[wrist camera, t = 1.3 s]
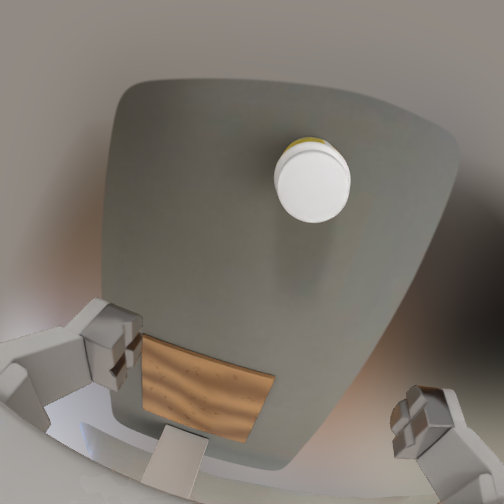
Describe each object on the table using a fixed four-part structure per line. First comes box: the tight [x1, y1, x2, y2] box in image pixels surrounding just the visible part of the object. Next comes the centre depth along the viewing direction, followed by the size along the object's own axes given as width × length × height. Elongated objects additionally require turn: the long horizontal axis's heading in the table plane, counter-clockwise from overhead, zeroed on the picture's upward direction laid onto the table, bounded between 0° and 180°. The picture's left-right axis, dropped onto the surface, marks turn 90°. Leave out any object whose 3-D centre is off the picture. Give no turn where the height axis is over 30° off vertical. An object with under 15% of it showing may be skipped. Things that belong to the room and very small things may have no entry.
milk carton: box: [140, 424, 209, 499], centre depth 35 cm, size 7×7×19 cm
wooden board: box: [142, 334, 275, 443], centre depth 37 cm, size 16×16×1 cm
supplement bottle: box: [274, 137, 351, 223], centre depth 20 cm, size 5×5×8 cm
